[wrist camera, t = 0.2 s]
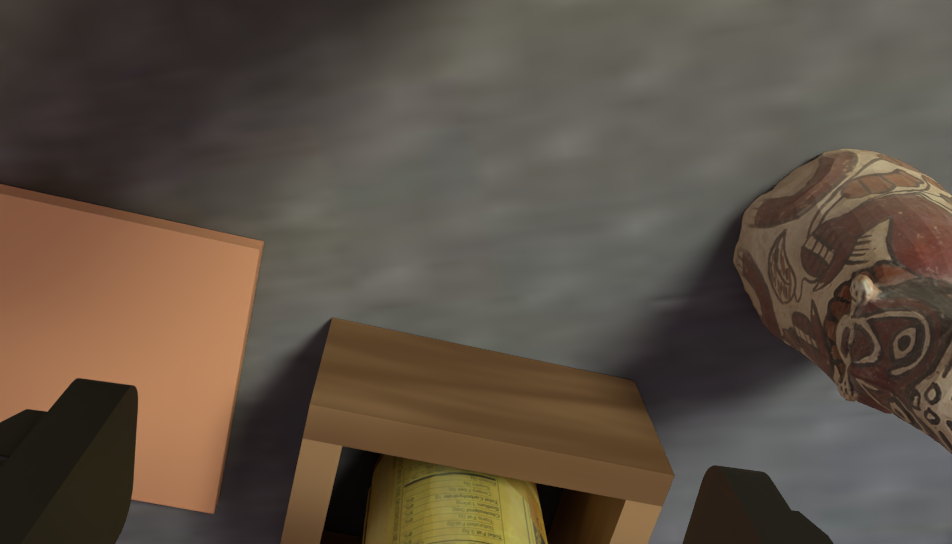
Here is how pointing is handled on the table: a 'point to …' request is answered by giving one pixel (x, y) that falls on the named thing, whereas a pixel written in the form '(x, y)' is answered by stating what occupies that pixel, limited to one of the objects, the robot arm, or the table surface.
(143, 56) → the table surface
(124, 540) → the table surface
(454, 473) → the sauce bottle
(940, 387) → the figurine
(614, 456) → the square holder
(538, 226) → the table surface
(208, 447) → the terracotta mat
